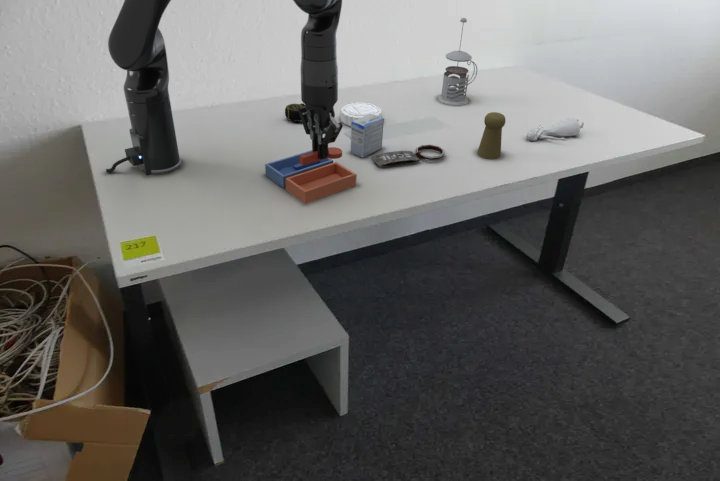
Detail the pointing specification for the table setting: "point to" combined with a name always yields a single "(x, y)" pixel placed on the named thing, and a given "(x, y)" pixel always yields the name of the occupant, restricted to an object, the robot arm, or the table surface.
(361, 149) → the medicine box
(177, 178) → the table surface
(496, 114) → the olive game pawn
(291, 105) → the tape measure
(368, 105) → the mooncake
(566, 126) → the woman figurine
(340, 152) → the terracotta spoon
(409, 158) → the keychain
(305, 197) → the terracotta tote
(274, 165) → the blue tote
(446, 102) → the french press
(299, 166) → the blue spoon
